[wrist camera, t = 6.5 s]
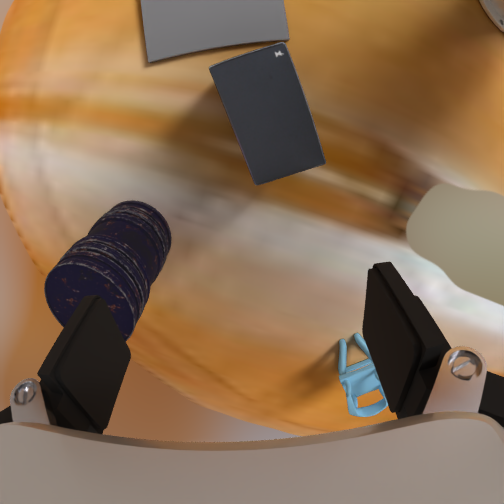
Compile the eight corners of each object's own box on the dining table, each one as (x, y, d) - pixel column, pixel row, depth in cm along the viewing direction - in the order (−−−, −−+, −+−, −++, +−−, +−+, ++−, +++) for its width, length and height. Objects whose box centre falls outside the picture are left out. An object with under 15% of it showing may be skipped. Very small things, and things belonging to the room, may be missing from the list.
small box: (218, 74, 29) (203, 65, 19) (276, 55, 27) (287, 37, 18) (252, 161, 33) (252, 189, 24) (308, 143, 32) (330, 163, 23)
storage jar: (98, 198, 35) (32, 256, 22) (171, 201, 36) (127, 267, 22) (107, 265, 40) (59, 338, 27) (173, 272, 40) (143, 354, 27)
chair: (370, 326, 45) (393, 385, 35) (379, 355, 49) (399, 410, 38) (325, 344, 47) (339, 405, 36) (339, 371, 50) (352, 427, 40)
